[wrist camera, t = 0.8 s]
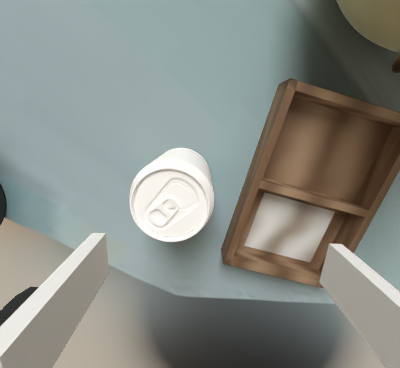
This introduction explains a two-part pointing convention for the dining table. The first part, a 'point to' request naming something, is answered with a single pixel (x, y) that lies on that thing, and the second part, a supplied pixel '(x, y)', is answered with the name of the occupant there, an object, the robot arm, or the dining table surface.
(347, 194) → the tray
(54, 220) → the dining table surface
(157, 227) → the beverage can
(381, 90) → the dining table surface
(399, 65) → the pitcher
